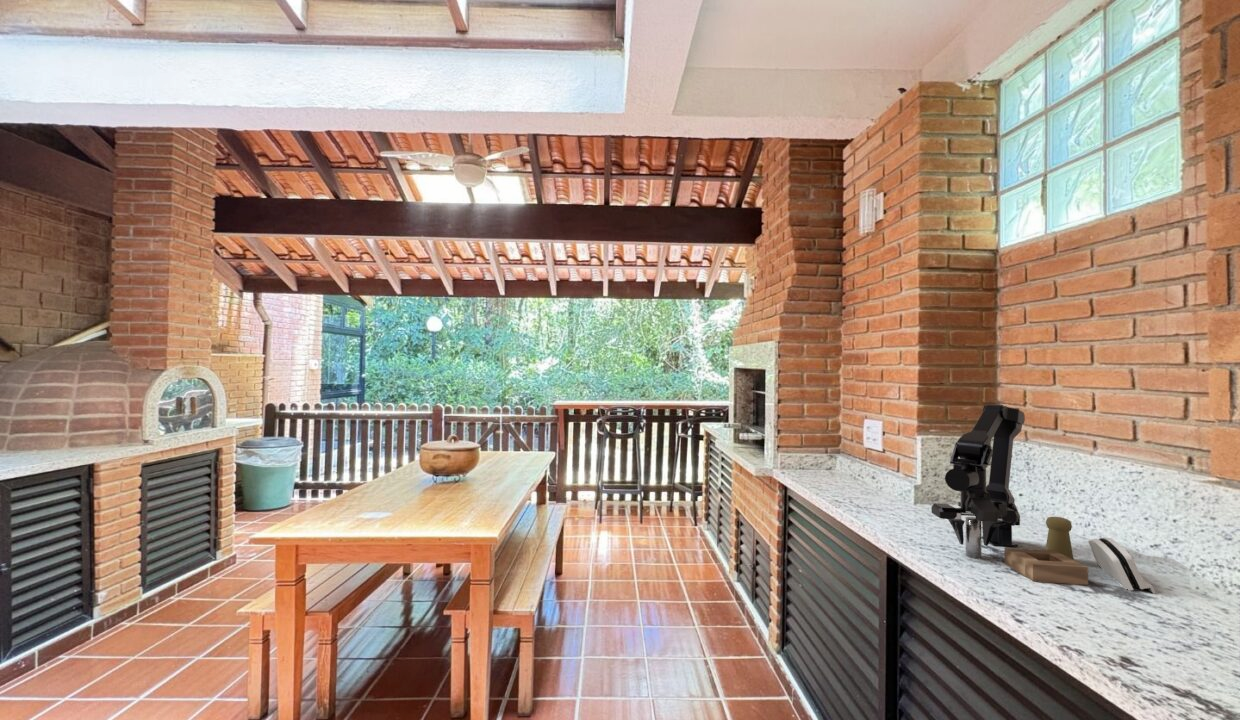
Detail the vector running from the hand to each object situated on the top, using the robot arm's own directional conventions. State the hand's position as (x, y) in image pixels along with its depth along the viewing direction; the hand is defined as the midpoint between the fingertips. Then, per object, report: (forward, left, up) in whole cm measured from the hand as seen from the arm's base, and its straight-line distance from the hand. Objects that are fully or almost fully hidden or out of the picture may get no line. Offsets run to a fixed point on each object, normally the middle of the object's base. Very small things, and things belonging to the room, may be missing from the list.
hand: (973, 544), depth 138 cm
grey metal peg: (0, 0, -3) cm, 3 cm away
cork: (-1, +21, -3) cm, 21 cm away
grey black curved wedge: (+10, +27, -3) cm, 29 cm away
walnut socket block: (+10, +11, -3) cm, 15 cm away
